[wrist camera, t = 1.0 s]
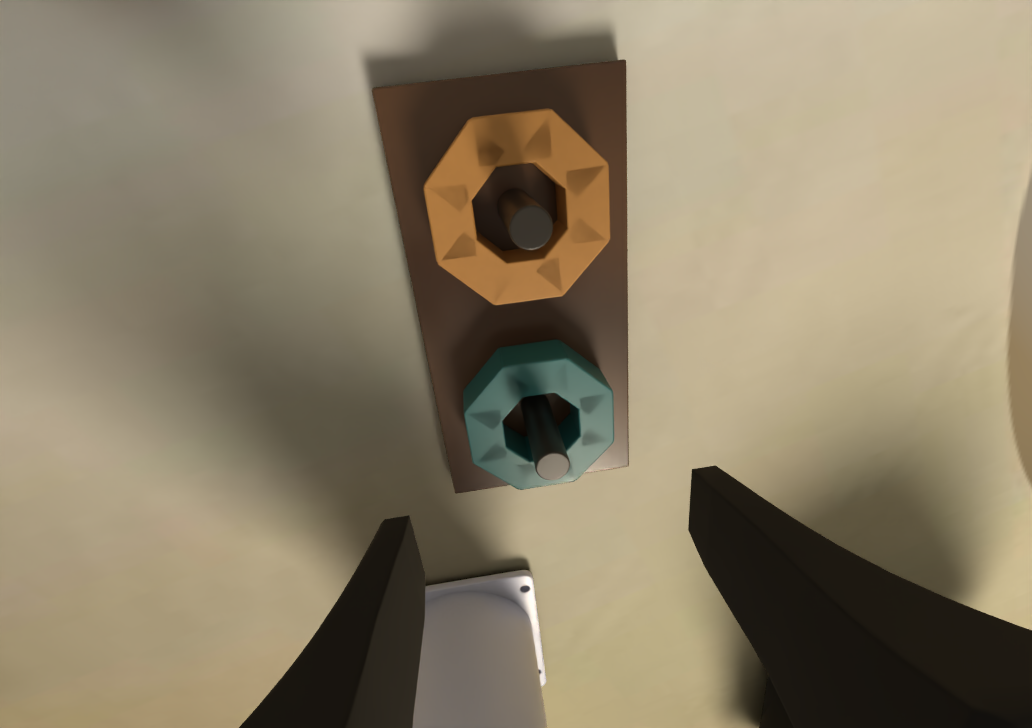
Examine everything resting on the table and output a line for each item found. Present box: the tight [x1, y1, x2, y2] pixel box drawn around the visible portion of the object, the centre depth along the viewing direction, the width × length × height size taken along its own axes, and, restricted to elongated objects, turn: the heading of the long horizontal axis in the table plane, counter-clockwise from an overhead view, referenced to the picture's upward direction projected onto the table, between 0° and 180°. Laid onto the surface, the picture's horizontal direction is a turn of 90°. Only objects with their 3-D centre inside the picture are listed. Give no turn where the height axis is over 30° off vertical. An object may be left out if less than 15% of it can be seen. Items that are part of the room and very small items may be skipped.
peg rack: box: [372, 60, 629, 493], centre depth 17 cm, size 16×8×5 cm, turn 6°
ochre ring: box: [423, 109, 610, 305], centre depth 16 cm, size 6×6×2 cm
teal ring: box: [463, 339, 614, 490], centre depth 20 cm, size 6×6×2 cm
